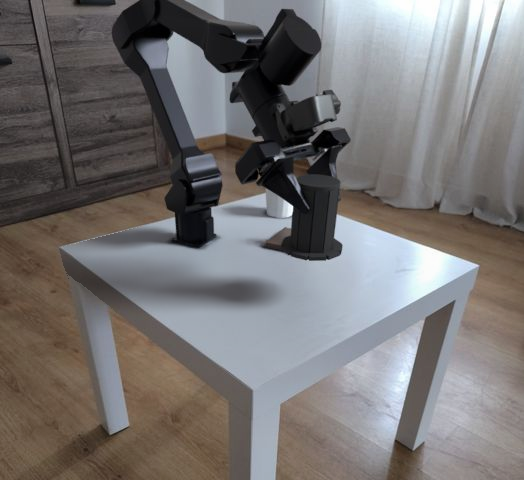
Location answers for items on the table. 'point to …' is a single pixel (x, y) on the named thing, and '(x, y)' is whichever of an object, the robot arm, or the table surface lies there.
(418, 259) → the table surface
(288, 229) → the hat stand
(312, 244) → the hat
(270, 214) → the white cup
